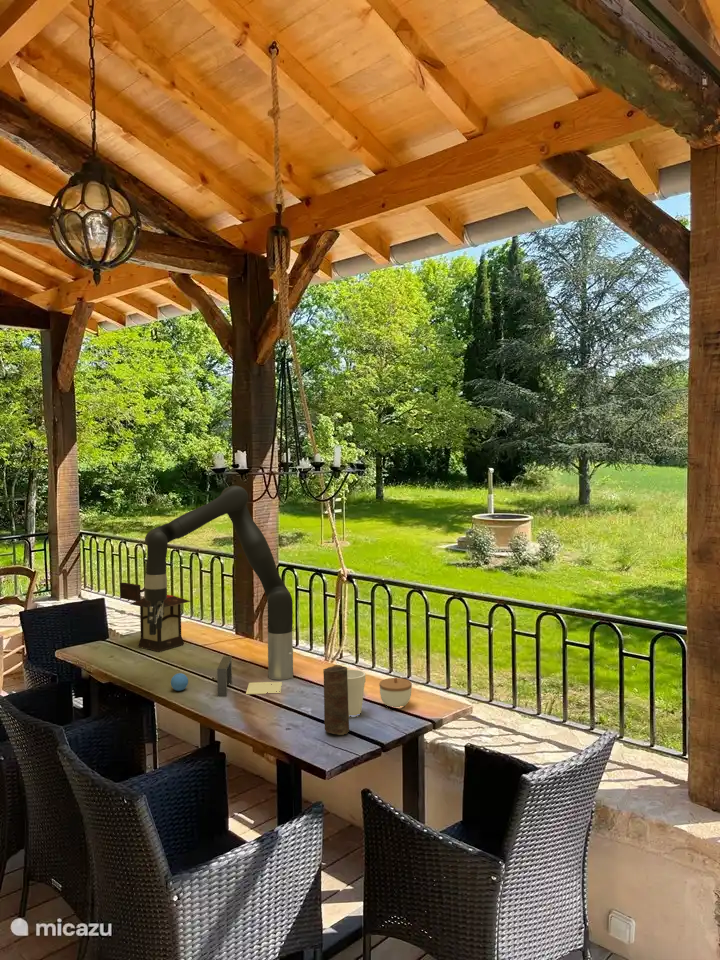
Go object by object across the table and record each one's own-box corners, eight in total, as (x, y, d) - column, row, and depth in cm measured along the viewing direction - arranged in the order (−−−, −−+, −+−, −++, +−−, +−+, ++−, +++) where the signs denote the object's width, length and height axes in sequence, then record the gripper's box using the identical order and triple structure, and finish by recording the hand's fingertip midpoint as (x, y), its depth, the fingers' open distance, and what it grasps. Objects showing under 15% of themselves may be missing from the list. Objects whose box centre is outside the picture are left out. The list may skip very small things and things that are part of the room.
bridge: (231, 682, 260) (231, 656, 260) (226, 696, 245) (225, 668, 245) (223, 682, 260) (223, 656, 260) (217, 696, 245) (217, 668, 245)
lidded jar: (378, 700, 240) (378, 673, 239) (409, 699, 240) (409, 672, 240) (381, 712, 229) (380, 683, 229) (413, 711, 230) (413, 682, 229)
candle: (329, 739, 208) (328, 671, 207) (320, 730, 214) (319, 665, 214) (353, 734, 211) (352, 668, 210) (343, 726, 218) (343, 661, 217)
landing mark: (282, 682, 260) (282, 681, 260) (280, 693, 248) (280, 692, 248) (249, 683, 259) (249, 682, 259) (245, 694, 247) (245, 693, 247)
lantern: (115, 652, 301) (114, 582, 300) (164, 638, 322) (162, 573, 321) (143, 659, 291) (142, 586, 289) (191, 644, 312) (190, 577, 311)
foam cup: (340, 720, 222) (339, 679, 222) (333, 710, 231) (333, 670, 231) (369, 717, 225) (369, 676, 224) (361, 707, 234) (361, 668, 233)
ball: (189, 687, 255) (189, 670, 255) (186, 692, 249) (186, 676, 249) (172, 687, 255) (172, 671, 254) (169, 693, 249) (168, 676, 248)
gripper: (161, 590, 244) (161, 636, 245) (171, 582, 258) (170, 626, 259) (139, 590, 244) (139, 636, 244) (150, 582, 258) (150, 626, 259)
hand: (155, 631), depth 252 cm, fingers open, 8 cm apart
